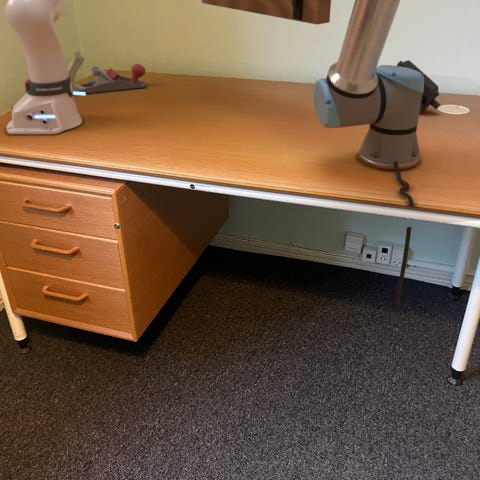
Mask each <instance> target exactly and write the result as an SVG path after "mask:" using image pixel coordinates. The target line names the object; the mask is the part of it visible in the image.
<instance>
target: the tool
mask: <svg viewBox="0 0 480 480" xmlns="http://www.w3.org/2000/svg"><path fill="white" fill-rule="evenodd" d="M396 66H401V67H406V68H410V69H413V70H416V71H418V72H420V73H421V74H422V75H423V77H424V90H423V91H424V93H423V94H422V100H421V106H420V112H419V114H421V113H423V112H424V111H425V110H427V109H428V108H429V107H430V106H431V107H432V108H433V109H435V110H437V109H439V107H441V105H442V104H441V103H440V102H438V101H437V99H436V98H437V97H439V96H440V92H439V86H438V84H437V83H436V82H434V81H433V79H431V78H430V77H429V76H428V75H427V74H426V73H424V72H423V71H422V69H420V68H419V67H418V66H417V65H416V64H414V62H412V61H411V60H409V59H408V60H404V61H402V60H400V61H398V62H397V64H396Z"/></svg>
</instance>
